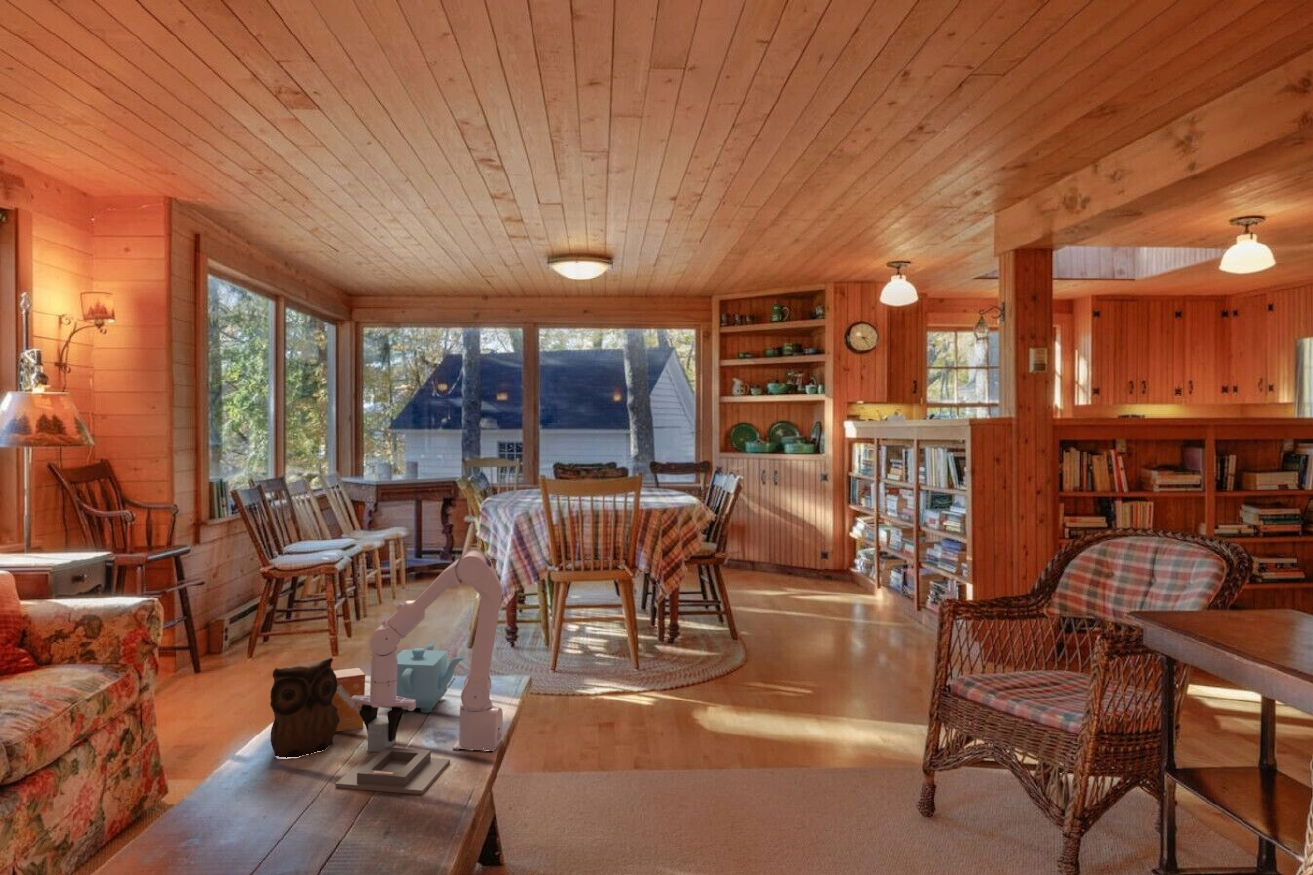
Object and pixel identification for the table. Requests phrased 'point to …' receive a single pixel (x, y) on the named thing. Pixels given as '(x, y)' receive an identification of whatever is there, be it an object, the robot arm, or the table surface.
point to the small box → (348, 698)
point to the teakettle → (424, 675)
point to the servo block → (379, 734)
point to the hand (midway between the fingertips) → (382, 739)
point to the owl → (303, 708)
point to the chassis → (395, 771)
